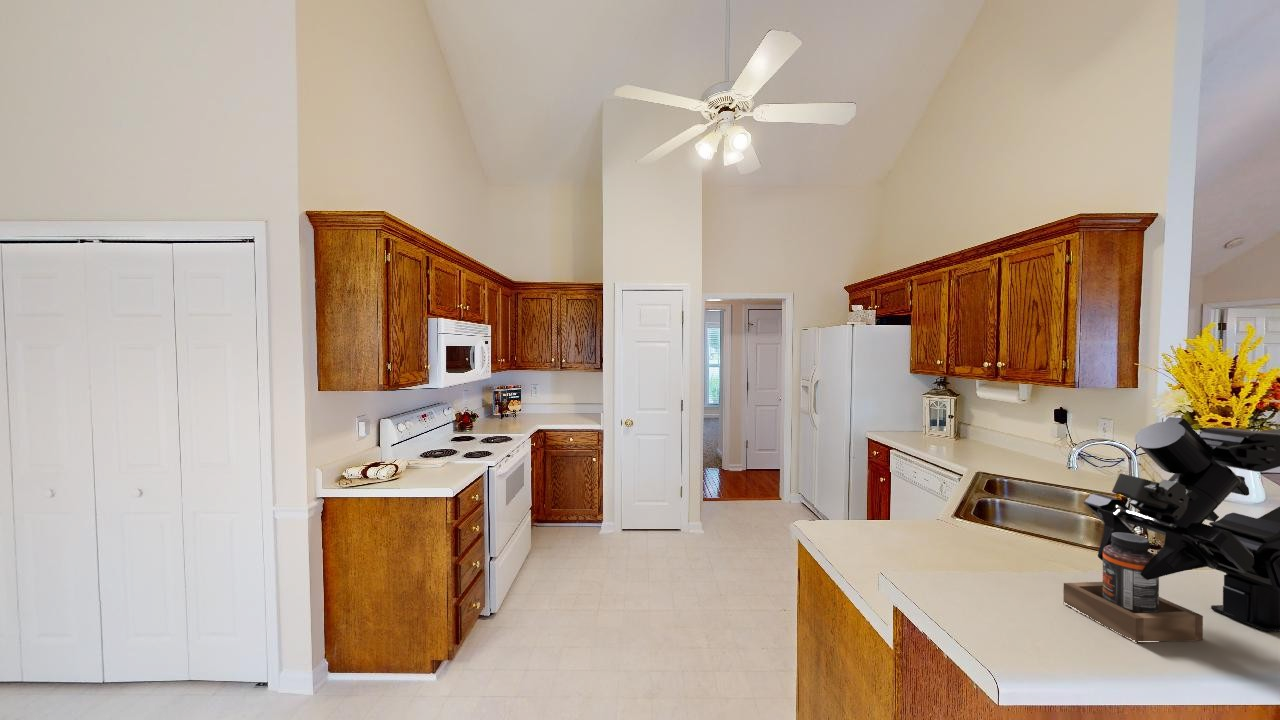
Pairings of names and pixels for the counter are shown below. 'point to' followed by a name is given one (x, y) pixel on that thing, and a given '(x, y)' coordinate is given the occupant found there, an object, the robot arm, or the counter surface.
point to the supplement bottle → (1129, 574)
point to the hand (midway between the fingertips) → (1121, 567)
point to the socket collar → (1135, 616)
